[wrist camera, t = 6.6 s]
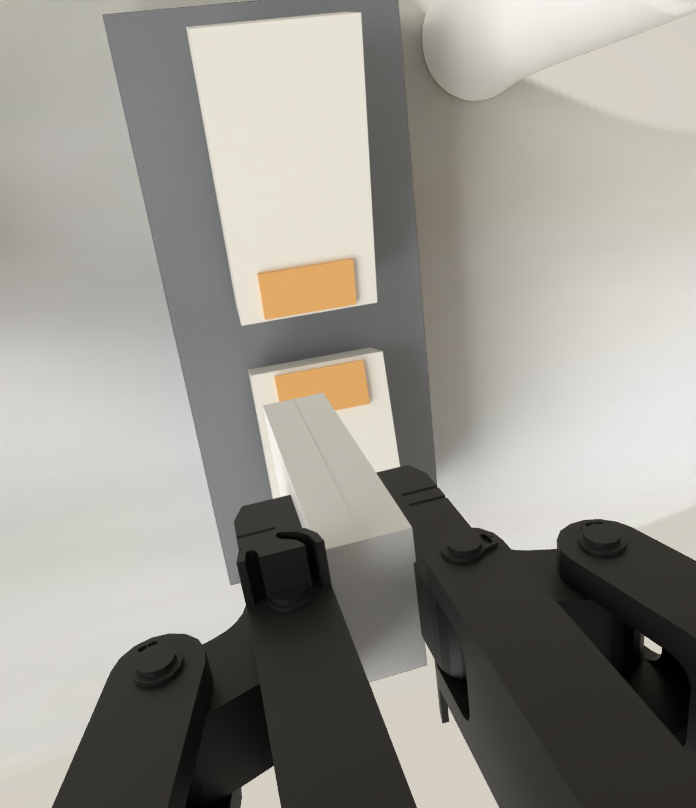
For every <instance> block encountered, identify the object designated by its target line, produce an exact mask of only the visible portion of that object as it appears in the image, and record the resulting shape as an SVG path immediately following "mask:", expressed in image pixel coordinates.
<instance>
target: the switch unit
mask: <svg viewBox="0 0 696 808" xmlns="http://www.w3.org/2000/svg"><path fill="white" fill-rule="evenodd" d="M337 12H361V20H362V38H363V56H364V74H365V91H366V109H367V127H368V145H369V163H370V181H371V199H372V216H373V234H374V252H375V270H376V288H377V303H371V304H366V305H360V306H354V307H348V308H342V309H337V310H331V311H325V312H319V313H313V314H308V315H302V316H296V317H290V318H284V319H279V320H273V321H267V322H261V323H255V324H250V325H244V326H241V322H240V318H239V314H238V311H237V307H236V302H235V297H234V291H233V286H232V280H231V275H230V269H229V263H228V258H227V252H226V247H225V241H224V236H223V230H222V224H221V219H220V213H219V208H218V202H217V197H216V191H215V185H214V180H213V174H212V169H211V163H210V158H209V152H208V146H207V141H206V135H205V130H204V124H203V119H202V113H201V107H200V102H199V96H198V91H197V85H196V80H195V74H194V68H193V63H192V57H191V52H190V46H189V41H188V35H187V29H186V27H191V26H202V25H212V24H222V23H233V22H243V21H254V20H264V19H275V18H285V17H295V16H306V15H316V14H327V13H337ZM103 19H104V24H105V28H106V33H107V37H108V42H109V46H110V51H111V55H112V60H113V64H114V68H115V73H116V77H117V82H118V86H119V91H120V95H121V100H122V104H123V109H124V113H125V117H126V122H127V126H128V131H129V135H130V140H131V144H132V149H133V153H134V158H135V162H136V166H137V171H138V175H139V180H140V184H141V189H142V193H143V198H144V202H145V207H146V211H147V215H148V220H149V224H150V229H151V233H152V238H153V242H154V247H155V251H156V256H157V260H158V264H159V269H160V273H161V278H162V282H163V287H164V291H165V296H166V300H167V304H168V309H169V313H170V318H171V322H172V327H173V331H174V336H175V340H176V345H177V349H178V353H179V358H180V362H181V367H182V371H183V376H184V380H185V385H186V389H187V394H188V398H189V402H190V407H191V411H192V416H193V420H194V425H195V429H196V434H197V438H198V443H199V447H200V451H201V456H202V460H203V465H204V469H205V474H206V478H207V483H208V487H209V492H210V496H211V500H212V505H213V509H214V514H215V518H216V523H217V527H218V532H219V536H220V541H221V545H222V549H223V554H224V558H225V563H226V567H227V572H228V576H229V581H230V585H234V584H238V583H241V581H240V577H239V572H238V568H237V564H236V562H237V557H238V552H239V549H238V544H237V538H236V532H235V526H234V520H235V518H236V516H237V514H238V512H239V511H240V509H241V507H242V506H245V505H249V504H253V503H258V502H262V501H266V500H270V499H273V498H272V492H271V487H270V482H269V477H268V471H267V466H266V461H265V456H264V451H263V445H262V440H261V435H260V430H259V424H258V419H257V414H256V409H255V404H254V398H253V393H252V388H251V383H250V377H249V372H248V370H249V369H255V368H260V367H265V366H271V365H276V364H282V363H287V362H293V361H298V360H304V359H309V358H314V357H320V356H325V355H331V354H336V353H342V352H347V351H353V350H358V349H363V348H369V347H371V348H374V349H377V350H380V351H383V357H384V364H385V370H386V377H387V384H388V390H389V397H390V404H391V410H392V417H393V423H394V430H395V437H396V443H397V450H398V457H399V463H400V467H402V466H406V465H410V466H412V467H414V468H417V469H419V470H421V471H423V472H425V473H427V474H428V475H429V477H430V478H431V479H432V480H433V481H434V483H435V484H436V485H437V480H436V468H435V455H434V443H433V430H432V418H431V405H430V393H429V380H428V368H427V355H426V343H425V330H424V318H423V305H422V293H421V280H420V268H419V255H418V243H417V230H416V218H415V205H414V193H413V180H412V168H411V155H410V143H409V130H408V118H407V105H406V93H405V80H404V68H403V55H402V43H401V30H400V18H399V5H398V0H257V1H246V2H235V3H224V4H213V5H202V6H191V7H180V8H169V9H158V10H147V11H136V12H125V13H114V14H103Z"/></svg>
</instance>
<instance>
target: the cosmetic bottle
mask: <svg viewBox="0 0 696 808" xmlns="http://www.w3.org/2000/svg"><path fill="white" fill-rule="evenodd" d="M695 11H696V0H432V1H431V3H430V5H429V7H428V10H427V12H426V15H425V19H424V24H423V30H422V46H423V53H424V57H425V61H426V63H427V66H428V69H429V71H430V73H431V74H432V76H433V78H434V79H435V81H436V82H437V83H438V84H439V85H440V86H441V87H442V88H443V89H444V90H445V91H447V92H448V93H449V94H451V95H453V96H455V97H457V98H460V99H463V100H468V101H481V100H486V99H489V98H492V97H495V96H496V95H498V94H500V93H502V92H503V91H504V90H506V89H507V88H508V87H510V86H511V85H513V84H514V83H516V82H518V81H519V80H521V79H523V78H525V77H527V76H529V75H531V74H533V73H536V72H538V71H540V70H542V69H545V68H547V67H550V66H552V65H555V64H557V63H560V62H562V61H565V60H568V59H570V58H573V57H576V56H579V55H581V54H584V53H587V52H590V51H592V50H595V49H598V48H601V47H603V46H606V45H609V44H612V43H615V42H618V41H620V40H623V39H626V38H628V37H631V36H633V35H636V34H639V33H642V32H644V31H647V30H650V29H652V28H655V27H658V26H660V25H662V24H665V23H667V22H670V21H673V20H675V19H677V18H680V17H683V16H685V15H688V14H690V13H692V12H695Z"/></svg>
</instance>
